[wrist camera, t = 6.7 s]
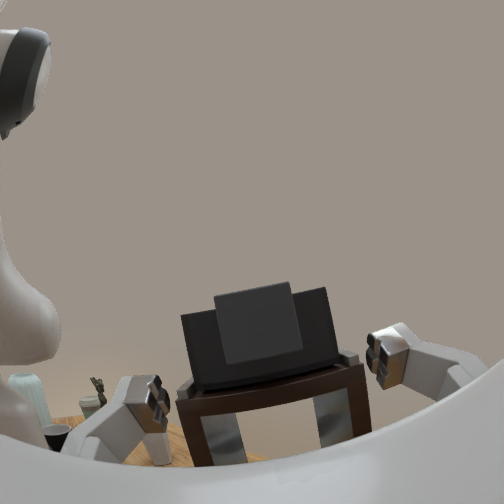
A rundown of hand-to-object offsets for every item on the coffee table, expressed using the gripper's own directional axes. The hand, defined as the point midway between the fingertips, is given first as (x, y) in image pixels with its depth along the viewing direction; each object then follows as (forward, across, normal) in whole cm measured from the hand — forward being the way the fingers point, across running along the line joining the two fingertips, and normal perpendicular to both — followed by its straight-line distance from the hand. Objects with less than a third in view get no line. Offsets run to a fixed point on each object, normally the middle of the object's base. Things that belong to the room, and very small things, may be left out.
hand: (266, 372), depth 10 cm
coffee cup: (+41, +57, +58) cm, 91 cm away
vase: (+24, +68, +48) cm, 87 cm away
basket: (+8, 0, +8) cm, 11 cm away
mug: (+17, +52, +44) cm, 70 cm away
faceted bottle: (+25, +28, +48) cm, 61 cm away
